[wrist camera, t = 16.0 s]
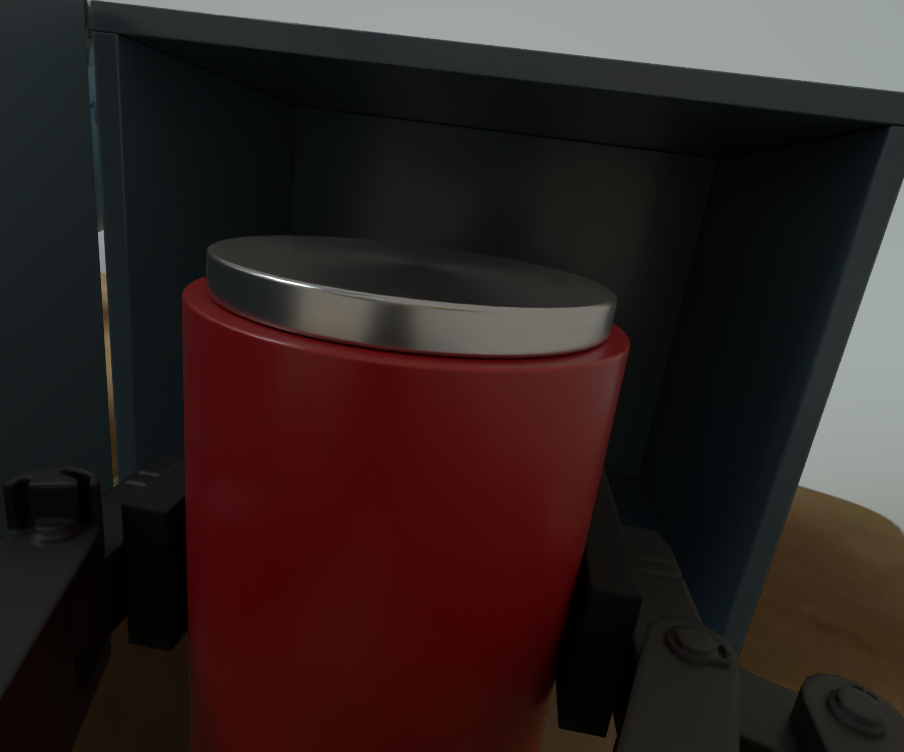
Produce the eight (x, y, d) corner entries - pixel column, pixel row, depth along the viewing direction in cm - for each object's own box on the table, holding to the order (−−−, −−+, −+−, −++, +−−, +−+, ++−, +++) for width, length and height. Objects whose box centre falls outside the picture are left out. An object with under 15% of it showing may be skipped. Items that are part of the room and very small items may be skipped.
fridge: (732, 679, 21) (934, 94, 15) (122, 566, 23) (89, -1, 17) (647, 486, 36) (734, 144, 30) (274, 425, 37) (286, 89, 31)
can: (166, 766, 13) (147, 221, 10) (415, 666, 17) (470, 244, 13) (243, 1160, 8) (264, 320, 4) (575, 896, 12) (738, 312, 8)
